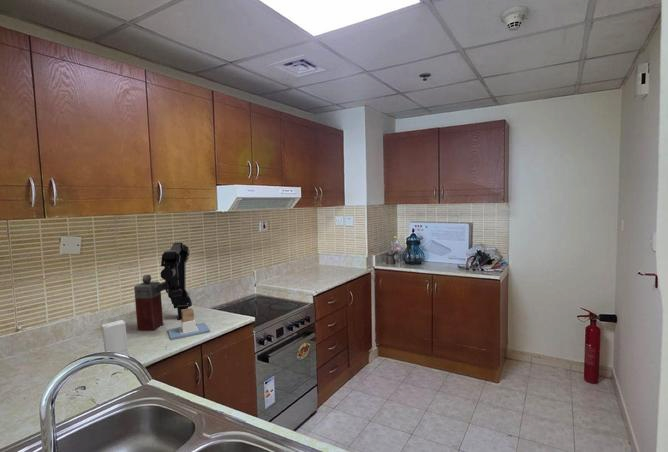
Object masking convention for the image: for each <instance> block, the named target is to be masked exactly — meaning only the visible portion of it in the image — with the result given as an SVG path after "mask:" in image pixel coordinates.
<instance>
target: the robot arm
mask: <svg viewBox="0 0 668 452" xmlns="http://www.w3.org/2000/svg"><path fill="white" fill-rule="evenodd" d="M190 255H191V254H190V249H189V246H187V245H185V244H184V242H174V243H172V246H171V248H170V249H169V250H165V251H164V252H163V253H162V254H161V263H160V267H162V268H163V269H162V270H161V272H160V277H161V279H162V280H164V281H162V282H160V284H157V285H155V286H154V288H155V290H156V292H157V293H160V292H161V293H162V292H163V291H165V293H167V296H168V298H169V299H170V301H171V304H172V306H173V308H174V309H177V315H176V319H177V320H178V321H181V319H182V315H181V310H183V309H189V308H191V307H193V303H192V299H191V297H190V296H189V295H190V294H189V292H188V290H187V287H186V286H187V285H186V284H187V283H186V282H187V281H186V280H187V275H186V272H187V271H186V270H187V269H186V265H187V262H188V260H189V257H190Z"/></svg>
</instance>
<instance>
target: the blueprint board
mask: <svg viewBox="0 0 668 452" xmlns="http://www.w3.org/2000/svg"><path fill="white" fill-rule="evenodd" d="M207 333H211V329H210V328H209V326H208V325H207V323H206V322H200V323H196V330H195V331H190V332H185V333H183V332H182V330H181V326H178V327H173V328H168V329H167V334H168V336H169V339H170V341H174V340H178V339H184V338H188V337H192V336H193V337H194V336H198V335H204V334H207Z"/></svg>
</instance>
